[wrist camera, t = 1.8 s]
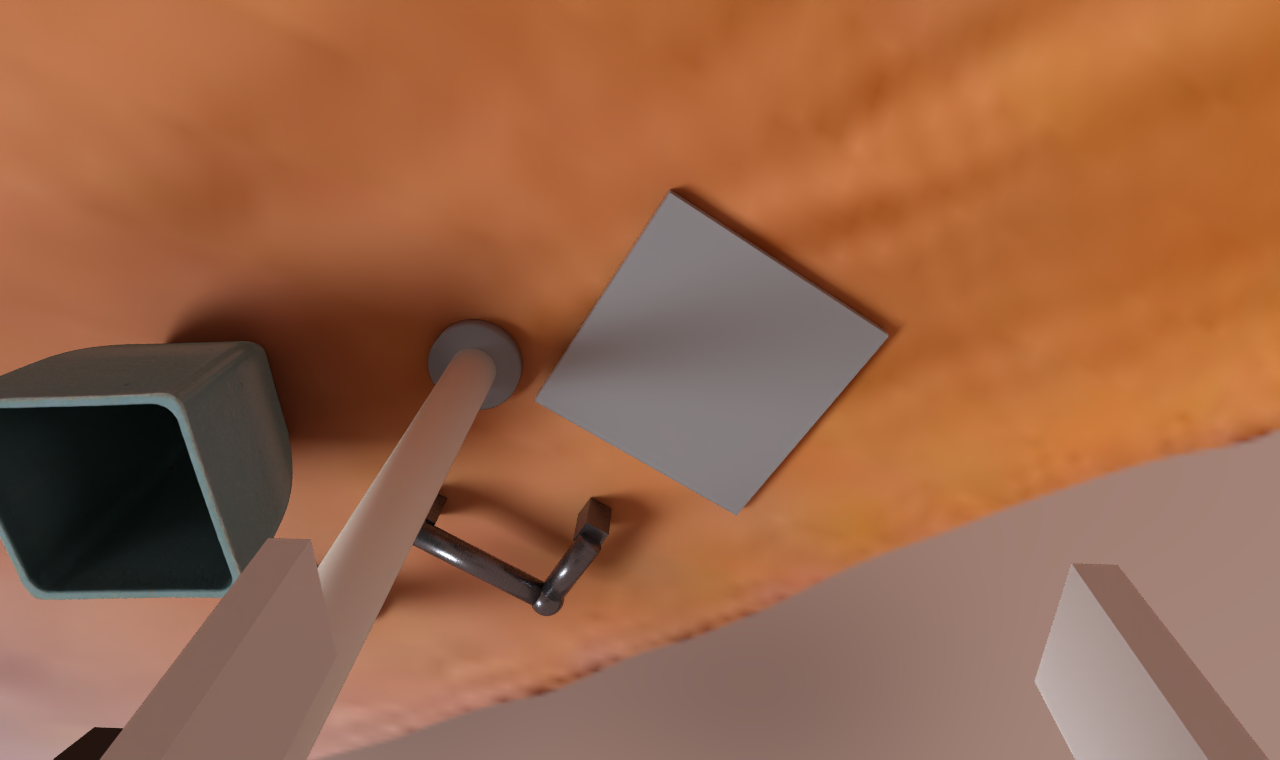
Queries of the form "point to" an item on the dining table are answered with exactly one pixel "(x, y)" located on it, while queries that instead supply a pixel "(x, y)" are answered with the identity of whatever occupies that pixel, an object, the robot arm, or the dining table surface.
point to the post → (405, 497)
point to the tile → (707, 356)
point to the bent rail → (511, 579)
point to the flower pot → (141, 469)
